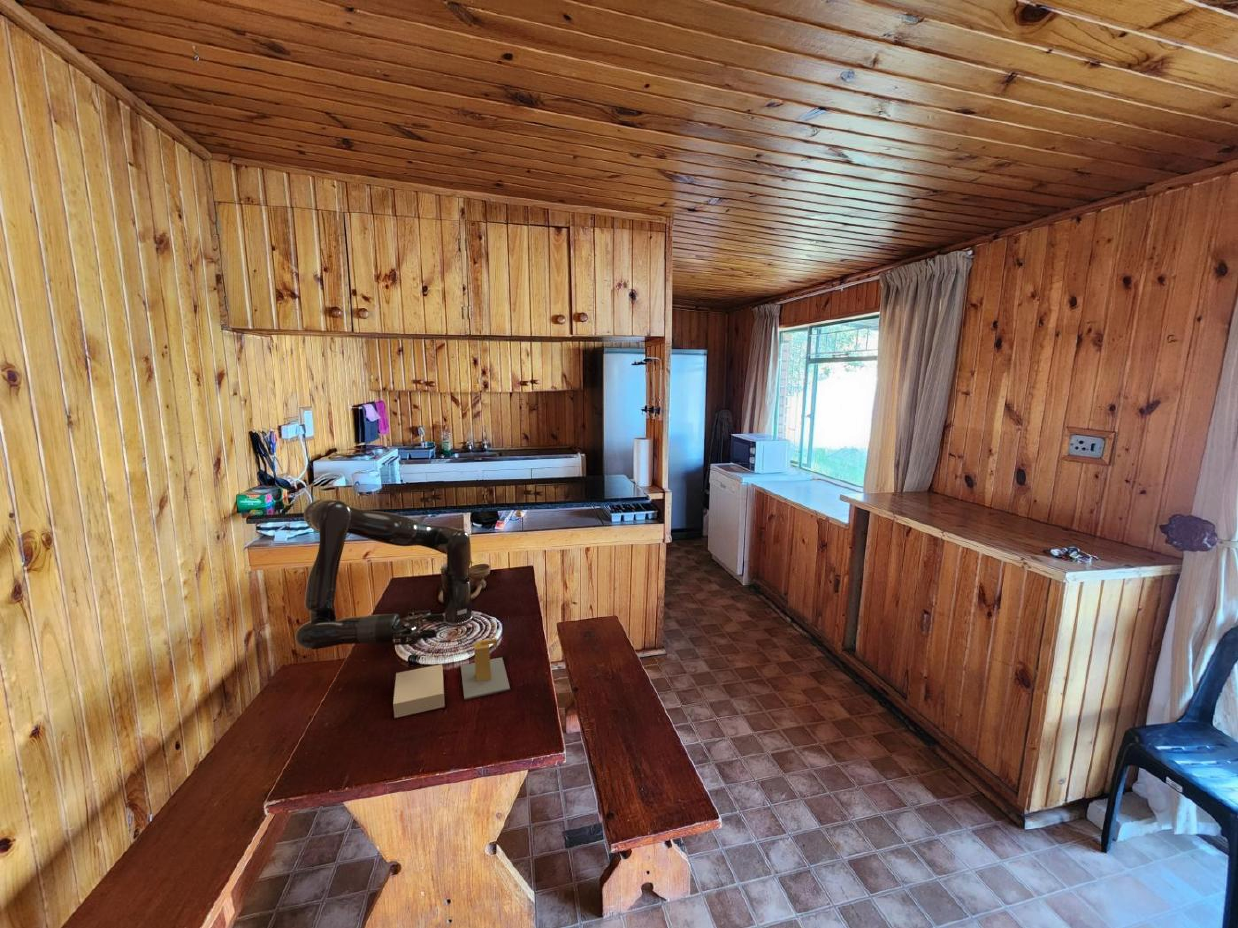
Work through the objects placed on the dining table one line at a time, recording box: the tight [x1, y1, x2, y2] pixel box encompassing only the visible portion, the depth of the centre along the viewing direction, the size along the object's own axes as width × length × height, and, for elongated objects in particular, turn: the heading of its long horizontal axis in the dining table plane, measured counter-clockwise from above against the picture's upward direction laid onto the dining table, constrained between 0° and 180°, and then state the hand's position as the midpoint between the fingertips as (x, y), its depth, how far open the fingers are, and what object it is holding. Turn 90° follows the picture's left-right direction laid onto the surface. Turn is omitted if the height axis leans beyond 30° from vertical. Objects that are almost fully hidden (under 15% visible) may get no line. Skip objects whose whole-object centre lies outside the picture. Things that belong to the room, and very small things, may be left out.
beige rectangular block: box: [392, 663, 446, 719], centre depth 135 cm, size 14×12×4 cm
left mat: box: [460, 657, 511, 701], centre depth 143 cm, size 16×12×1 cm
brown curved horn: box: [437, 563, 491, 604], centre depth 197 cm, size 24×9×19 cm
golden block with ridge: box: [473, 637, 498, 682], centre depth 142 cm, size 4×6×11 cm, turn 106°
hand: (440, 625), depth 139 cm, fingers open, 8 cm apart
